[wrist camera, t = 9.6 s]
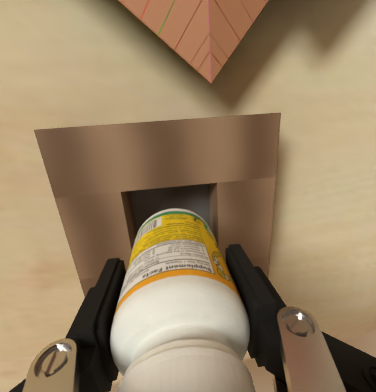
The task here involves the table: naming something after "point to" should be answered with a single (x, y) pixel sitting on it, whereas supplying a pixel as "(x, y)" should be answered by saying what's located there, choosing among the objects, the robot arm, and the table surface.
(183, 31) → the house
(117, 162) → the holder
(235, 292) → the supplement bottle
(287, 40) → the table surface
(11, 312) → the table surface
